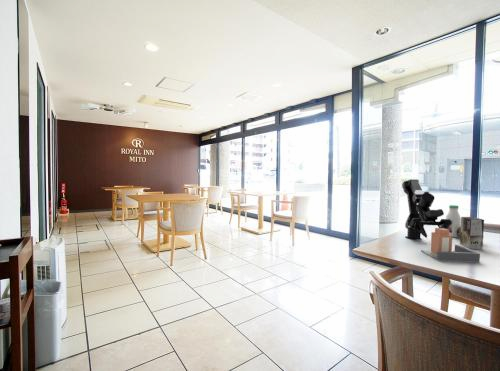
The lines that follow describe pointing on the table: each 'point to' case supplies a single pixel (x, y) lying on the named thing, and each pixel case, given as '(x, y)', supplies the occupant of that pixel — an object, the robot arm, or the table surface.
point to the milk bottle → (453, 220)
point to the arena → (455, 255)
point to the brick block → (441, 240)
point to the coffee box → (472, 232)
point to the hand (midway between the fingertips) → (436, 237)
